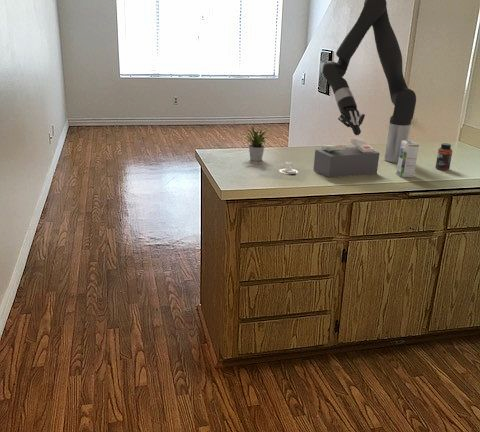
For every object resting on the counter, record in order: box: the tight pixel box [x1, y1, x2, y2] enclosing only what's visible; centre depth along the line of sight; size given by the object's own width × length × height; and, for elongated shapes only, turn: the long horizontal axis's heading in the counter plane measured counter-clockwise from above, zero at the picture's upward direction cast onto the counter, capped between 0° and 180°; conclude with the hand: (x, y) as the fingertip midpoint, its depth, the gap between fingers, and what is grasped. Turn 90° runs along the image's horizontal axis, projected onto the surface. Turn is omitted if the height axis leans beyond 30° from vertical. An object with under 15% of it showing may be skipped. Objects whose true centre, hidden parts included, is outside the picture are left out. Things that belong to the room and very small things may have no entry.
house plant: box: [242, 123, 272, 162], centre depth 235 cm, size 14×14×16 cm
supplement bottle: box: [435, 142, 453, 171], centre depth 233 cm, size 6×6×11 cm
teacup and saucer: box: [278, 161, 299, 175], centre depth 220 cm, size 9×8×4 cm
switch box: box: [313, 146, 380, 179], centre depth 223 cm, size 24×12×9 cm, turn 113°
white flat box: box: [350, 138, 375, 153], centre depth 223 cm, size 5×10×2 cm, turn 23°
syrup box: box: [396, 139, 420, 178], centre depth 220 cm, size 6×6×14 cm
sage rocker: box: [321, 144, 346, 151], centre depth 218 cm, size 5×10×2 cm, turn 23°
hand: (358, 134), depth 224 cm, fingers closed
